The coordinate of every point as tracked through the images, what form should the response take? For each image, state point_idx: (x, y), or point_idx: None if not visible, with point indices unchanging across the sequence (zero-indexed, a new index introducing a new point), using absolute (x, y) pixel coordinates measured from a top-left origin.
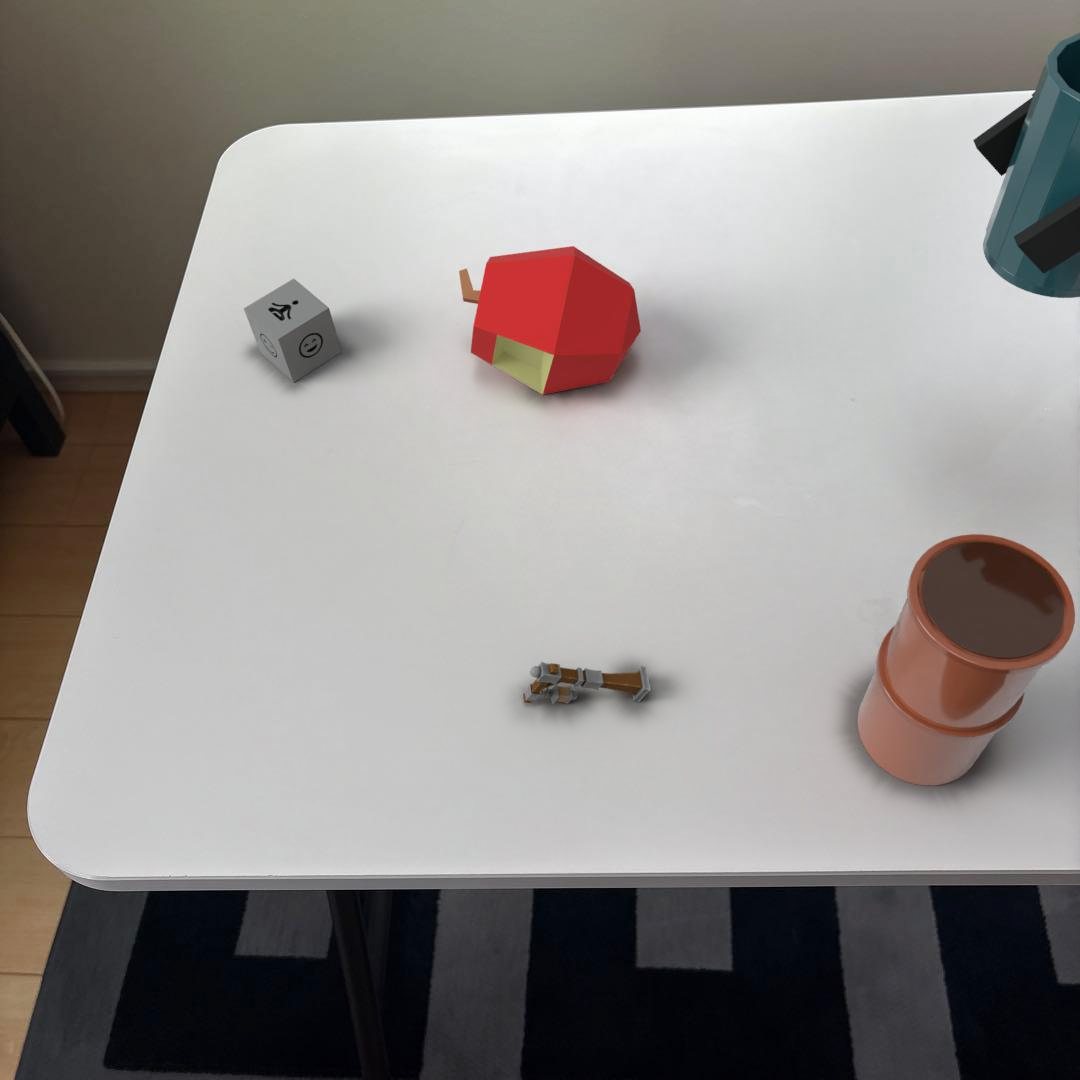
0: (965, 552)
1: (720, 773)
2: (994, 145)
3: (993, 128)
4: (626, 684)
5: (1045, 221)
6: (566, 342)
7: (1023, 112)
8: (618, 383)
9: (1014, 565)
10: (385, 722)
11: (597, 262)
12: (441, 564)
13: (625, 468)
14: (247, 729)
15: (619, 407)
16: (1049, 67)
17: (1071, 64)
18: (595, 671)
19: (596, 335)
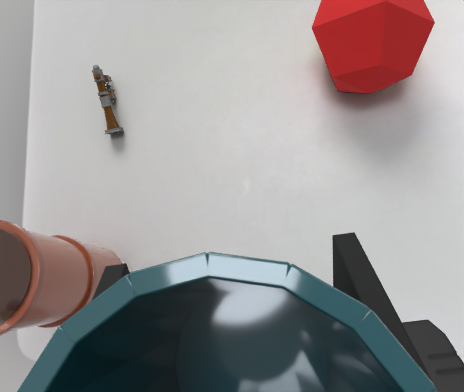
0: (22, 263)
1: (71, 176)
2: (338, 261)
3: (359, 255)
4: (106, 121)
5: None
6: (322, 32)
7: (364, 294)
8: (341, 99)
9: (7, 298)
10: (100, 22)
11: (420, 43)
12: (191, 26)
13: (267, 111)
14: None
15: (319, 102)
16: (227, 257)
17: (371, 364)
18: (107, 102)
19: (336, 52)
